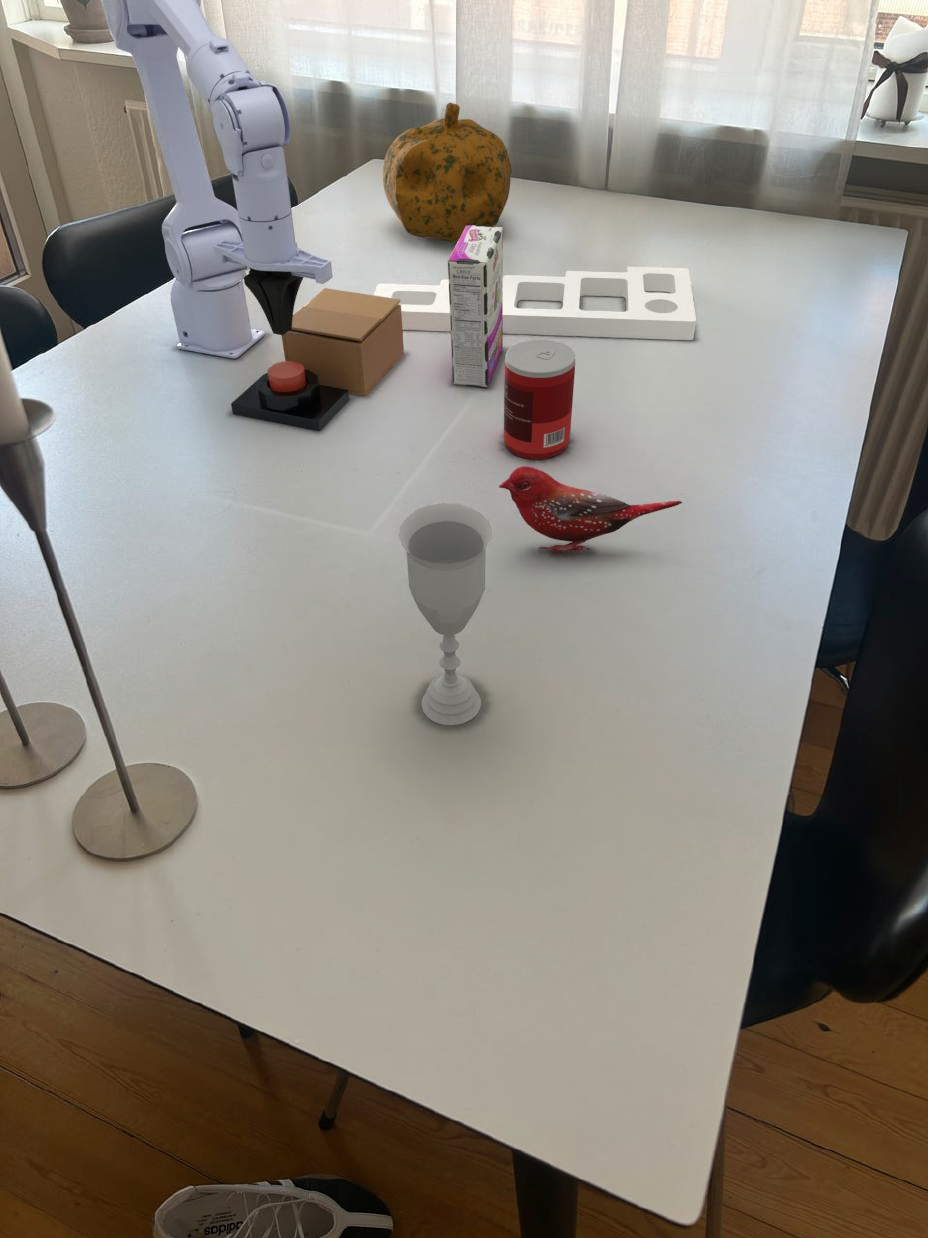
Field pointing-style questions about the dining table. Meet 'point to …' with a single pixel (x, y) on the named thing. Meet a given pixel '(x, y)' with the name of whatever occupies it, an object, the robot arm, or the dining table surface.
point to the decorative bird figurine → (570, 509)
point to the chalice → (447, 594)
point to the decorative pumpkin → (447, 177)
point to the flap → (353, 303)
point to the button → (287, 376)
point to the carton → (345, 347)
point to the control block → (292, 403)
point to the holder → (569, 304)
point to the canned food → (538, 398)
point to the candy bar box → (476, 305)
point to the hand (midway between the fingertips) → (282, 330)
